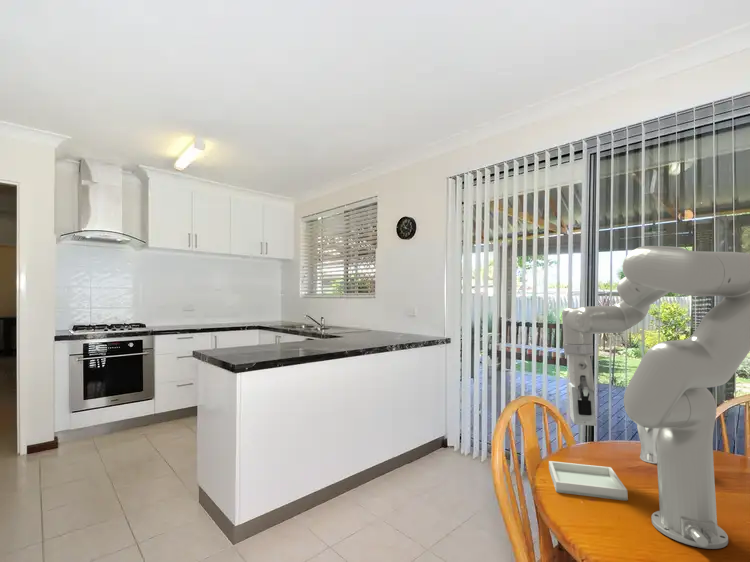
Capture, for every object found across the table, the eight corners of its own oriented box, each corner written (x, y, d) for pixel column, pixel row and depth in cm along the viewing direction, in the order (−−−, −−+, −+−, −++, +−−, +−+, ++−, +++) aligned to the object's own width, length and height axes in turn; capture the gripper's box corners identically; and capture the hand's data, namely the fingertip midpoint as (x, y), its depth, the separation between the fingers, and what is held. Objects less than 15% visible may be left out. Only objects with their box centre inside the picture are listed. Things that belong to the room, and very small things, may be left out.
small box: (596, 426, 107) (593, 387, 108) (573, 424, 109) (571, 386, 110) (591, 419, 114) (588, 382, 115) (570, 417, 116) (568, 382, 117)
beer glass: (671, 464, 115) (669, 413, 116) (648, 465, 116) (645, 413, 116) (655, 455, 122) (652, 407, 123) (633, 455, 122) (630, 407, 123)
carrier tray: (627, 500, 95) (627, 490, 95) (556, 492, 99) (555, 482, 100) (611, 476, 108) (611, 467, 108) (549, 469, 113) (548, 460, 113)
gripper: (599, 352, 104) (604, 419, 102) (586, 347, 120) (590, 405, 119) (568, 352, 106) (572, 417, 105) (560, 347, 123) (563, 403, 121)
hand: (582, 410), depth 112 cm, fingers closed on small box, 8 cm apart
